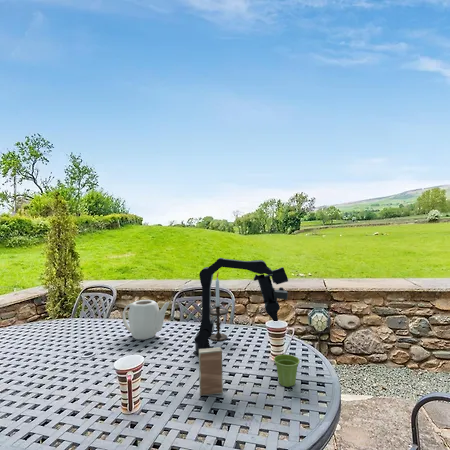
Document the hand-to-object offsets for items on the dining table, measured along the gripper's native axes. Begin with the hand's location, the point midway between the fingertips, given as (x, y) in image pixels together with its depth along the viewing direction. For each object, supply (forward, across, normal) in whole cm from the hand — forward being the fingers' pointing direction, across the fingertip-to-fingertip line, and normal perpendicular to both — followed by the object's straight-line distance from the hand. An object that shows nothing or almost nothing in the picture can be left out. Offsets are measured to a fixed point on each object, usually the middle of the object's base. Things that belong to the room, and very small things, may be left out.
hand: (276, 320), depth 141 cm
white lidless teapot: (-2, +22, +70) cm, 73 cm away
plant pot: (+16, -26, +2) cm, 30 cm away
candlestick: (+8, +20, +32) cm, 38 cm away
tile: (+8, -33, +29) cm, 45 cm away
